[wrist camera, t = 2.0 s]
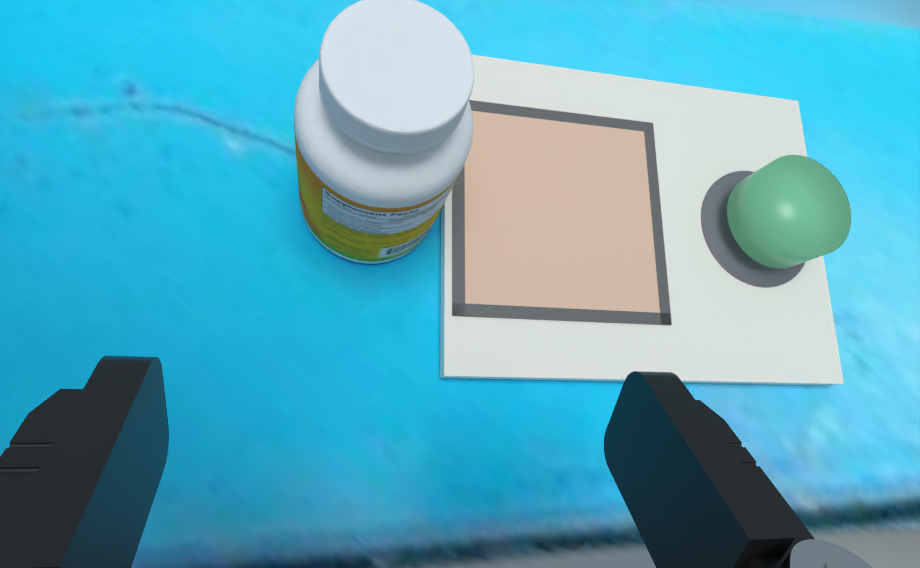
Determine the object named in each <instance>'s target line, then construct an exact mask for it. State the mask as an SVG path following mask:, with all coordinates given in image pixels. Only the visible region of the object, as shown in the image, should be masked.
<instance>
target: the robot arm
mask: <svg viewBox="0 0 920 568" xmlns="http://www.w3.org/2000/svg"><path fill="white" fill-rule="evenodd" d="M168 442H169V428H168V419H167V410H166V400H165V391H164V382H163V373H162V366H161V362H160V360H159V358H157V357H129V356H104V357H102V359H101V360H100V361H99V362H98V364H97V366H96V368H95V369H94V371H93V373H92V375H91V377H90V378H89V380H88V382H87V384H86V385H85V387H84V389H60V390H59V391H57V392H56V393H55V394H53V395H52V396H51V397H49V398H48V399H47V400H45V401H44V402H43V403H42V404H40V405H39V406H38V407H36V408H35V409H34V410H32V411H31V412H30V413H29V414H28V415H27V417H26V418H25V420H24V421H23V423H22V424H21V426H20V427H19V429H18V431H17V432H16V434H15V435H14V437H13V438H12V440H11V441H10V446H9V448H6V449H5V451H4V452H3V454H2V455H1V457H0V568H131V566H132V563H133V560H134V557H135V554H136V551H137V548H138V545H139V542H140V539H141V536H142V533H143V530H144V527H145V524H146V521H147V518H148V515H149V512H150V509H151V506H152V503H153V500H154V497H155V494H156V491H157V488H158V485H159V482H160V479H161V476H162V473H163V470H164V467H165V463H166V458H167V452H168ZM604 453H605V459H606V462H607V465H608V468H609V470H610V472H611V474H612V476H613V478H614V480H615V482H616V484H617V486H618V489H619V491H620V493H621V495H622V497H623V499H624V501H625V503H626V505H627V507H628V509H629V511H630V514H631V516H632V518H633V520H634V522H635V524H636V526H637V528H638V530H639V532H640V534H641V537H642V539H643V541H644V543H645V545H646V547H647V549H648V551H649V553H650V555H651V557H652V559H653V562H654V564H655V566H656V568H872V567H871V566H870V565H869V564H867V563H866V562H865V561H863V560H862V559H861V558H860V557H858V556H857V555H855V554H853V553H852V552H850V551H848V550H846V549H844V548H843V547H840V546H838V545H836V544H833V543H830V542H827V541H823V540H816V539H814V538H813V536H812V535H811V534H810V532H809V531H808V530H807V528H806V527H805V526H804V524H803V523H802V522H801V520H800V519H799V518H798V516H797V515H796V514H795V513H794V511H793V510H792V509H791V507H790V506H789V505H788V503H787V502H786V501H785V499H784V498H783V497H782V495H781V494H780V493H779V491H778V490H777V489H776V487H775V486H774V485H773V483H772V482H771V481H770V480H769V478H768V477H767V476H766V474H765V473H764V472H763V470H762V469H761V468H760V466H756V461H755V460H754V458H753V457H752V456H751V454H750V453H749V452H748V450H747V449H746V448H745V447H742V446H741V441H740V440H739V439H738V437H737V436H736V435H735V433H734V432H733V431H732V429H731V428H730V427H729V425H728V424H727V423H726V421H725V420H724V419H723V418H721V417H720V416H719V415H718V414H716V413H715V412H714V411H713V410H711V409H710V408H709V407H708V406H706V405H705V404H704V403H703V402H701V401H700V400H695V399H694V398H693V396H692V395H691V394H690V392H689V391H688V389H687V388H686V387H685V385H684V384H683V383H682V381H681V380H680V378H679V377H678V376H677V375H676V374H674V373H672V372H645V371H634V372H631V373H630V374H629V375H628V376H627V377H626V379H625V381H624V384H623V387H622V389H621V392H620V395H619V397H618V400H617V403H616V405H615V408H614V411H613V413H612V416H611V419H610V421H609V424H608V427H607V429H606V432H605V437H604Z"/></svg>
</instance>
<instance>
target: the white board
mask: <svg viewBox="0 0 920 568" xmlns="http://www.w3.org/2000/svg"><path fill="white" fill-rule="evenodd" d="M472 59H473V63H474V84H473V89H472V93H471V96H470V98H469V102H470V105H471V110H472V116H473V138H472V144H471V148H470V151H469V154H468V157H467V159H466V162H465V164H464V166H463V169H462V171H461V173H460V175H459V177H458V178H457V180H456V182H455V184H454V186H453V188H452V189H451V191H450V193H449V195H448V197H447V199H446V201H445V203H444V204H443V206H442V208H441V305H440V378H471V379H523V380H574V381H625V379H626V377H627V376H628V375H629V374H630V373H631V372H634V371H645V372H672V373H674V374H676V375H677V376H678V377H679V378H680V380H681V381H682V383H727V384H778V385H839V384H844V381H843V375H842V369H841V363H840V357H839V351H838V344H837V338H836V332H835V326H834V320H833V313H832V307H831V301H830V295H829V289H828V283H827V276H826V270H825V264H824V258H823V256H820V257H817V258H814V259H812V260H809V261H806V262H803V263H801V264H798V265H795V266H792V267H789V268H784V269H777V268H771V267H767V266H765V265H762V264H760V263H758V262H756V261H755V260H753V259H752V258H751V257H749V256H748V255H747V254H746V253H745V252H744V251H743V250H742V249H741V247H740V246H739V245H738V243H737V242H736V240H735V238H734V237H733V235H732V232H731V230H730V227H729V223H728V218H727V203H728V199H729V196H730V193H731V191H732V190H733V188H734V187H735V186H736V184H737V183H739V182H740V181H741V180H743V179H744V178H746V177H747V176H749V175H751V174H752V173H754V172H756V171H757V170H759V169H761V168H762V167H764V166H765V165H767V164H769V163H770V162H772V161H774V160H775V159H777V158H779V157H782V156H786V155H801V156H805V157H807V153H806V147H805V140H804V134H803V128H802V122H801V116H800V109H799V103H798V101H794V100H787V99H780V98H773V97H766V96H759V95H752V94H745V93H737V92H730V91H723V90H716V89H709V88H702V87H695V86H688V85H681V84H674V83H667V82H660V81H653V80H646V79H639V78H632V77H625V76H618V75H611V74H604V73H597V72H590V71H582V70H575V69H568V68H561V67H554V66H547V65H540V64H533V63H526V62H519V61H512V60H505V59H498V58H491V57H484V56H477V55H472Z"/></svg>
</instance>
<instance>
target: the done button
mask: <svg viewBox="0 0 920 568" xmlns="http://www.w3.org/2000/svg"><path fill="white" fill-rule="evenodd" d="M727 218H728V223H729V227H730V230H731V232H732V235H733V237H734V238H735V240H736V242H737V243H738V245H739V246H740V247H741V249H742V250H743V251H744V252H745V253H746V254H747V255H748V256H749V257H751V258H752V259H753V260H755V261H756V262H758V263H760V264H762V265H765V266H767V267H771V268H777V269H784V268H789V267H792V266H795V265H798V264H801V263H803V262H806V261H809V260H812V259H814V258H817V257H820V256H823V255H826V254H828V253H831V252H833V251H835V250H836V249H838V248H839V247H840V246H841V245H842V244H843V243H844V241H845V240H846V238H847V236H848V233H849V230H850V226H851V210H850V205H849V201H848V198H847V195H846V193H845V191H844V189H843V187H842V186H841V184H840V182H839V181H838V180H837V178H836V177H835V176H834V175H833V174H832V173H831V172H830V171H829V170H828V169H827V168H826V167H825V166H823V165H822V164H820V163H819V162H817V161H815V160H813V159H811V158H808V157H805V156H801V155H786V156H782V157H779V158H777V159H775V160H774V161H772V162H770V163H769V164H767V165H765V166H764V167H762V168H761V169H759V170H757V171H756V172H754V173H752V174H751V175H749V176H747V177H746V178H744V179H743V180H741V181H740V182H739V183H737V184H736V186H735V187H734V188H733V190H732V191H731V193H730V196H729V199H728V203H727Z"/></svg>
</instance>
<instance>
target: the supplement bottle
mask: <svg viewBox="0 0 920 568" xmlns="http://www.w3.org/2000/svg"><path fill="white" fill-rule="evenodd" d="M473 84H474V63H473V59H472V55H471V52H470V49H469V47H468V44H467V42H466V41H465V39H464V37H463V36H462V34H461V33H460V32H459V30H458V29H457V28H456V26H455V25H454V24H453V23H452V22H450V21H449V20H448V19H447V18H446V17H445V16H444V15H442V14H441V13H440V12H438V11H437V10H435V9H433V8H432V7H430V6H428V5H426V4H424V3H421V2H419V1H416V0H362V1H359V2H357V3H355V4H353V5H351V6H349V7H348V8H346V9H344V10H343V11H342V12H341V13H340V14H339V15H338V16H337V17H336V18H335V19H334V20H333V21H332V22H331V24H330V25H329V27H328V29H327V30H326V32H325V34H324V37H323V40H322V44H321V47H320V57H319V59H318V60H317V61H316V62H315V63H314V64H313V65H312V67H311V68H310V69H309V71H308V72H307V73H306V75H305V77H304V78H303V80H302V82H301V85H300V87H299V90H298V92H297V96H296V101H295V108H294V131H295V144H296V158H297V171H298V185H299V196H300V204H301V209H302V213H303V217H304V219H305V222H306V224H307V226H308V228H309V229H310V231H311V233H312V234H313V235H314V237H315V238H316V239H317V240H318V241H319V242H320V243H321V244H322V245H323V246H324V247H326V248H327V249H328V250H330V251H331V252H333V253H334V254H336V255H338V256H340V257H342V258H344V259H347V260H350V261H353V262H358V263H366V264H375V263H384V262H388V261H392V260H395V259H397V258H400V257H402V256H404V255H406V254H407V253H409V252H410V251H412V250H413V249H414V248H415V247H416V246H417V245H418V244H419V243H420V242H421V241H422V240H423V239H424V237H425V236H426V235H427V233H428V232H429V230H430V228H431V227H432V225H433V223H434V221H435V220H436V218H437V216H438V214H439V212H440V210H441V208H442V206H443V204H444V203H445V201H446V199H447V197H448V195H449V193H450V191H451V189H452V188H453V186H454V184H455V182H456V180H457V178H458V177H459V175H460V173H461V171H462V169H463V166H464V164H465V162H466V159H467V157H468V154H469V151H470V148H471V144H472V138H473V116H472V110H471V105H470V102H469V98H470V96H471V93H472V89H473Z"/></svg>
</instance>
